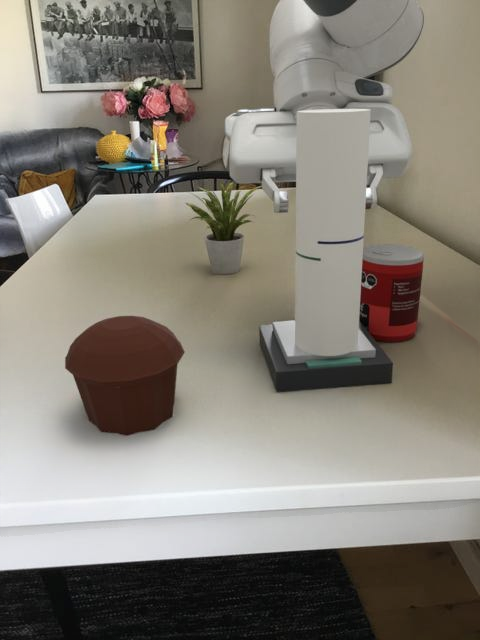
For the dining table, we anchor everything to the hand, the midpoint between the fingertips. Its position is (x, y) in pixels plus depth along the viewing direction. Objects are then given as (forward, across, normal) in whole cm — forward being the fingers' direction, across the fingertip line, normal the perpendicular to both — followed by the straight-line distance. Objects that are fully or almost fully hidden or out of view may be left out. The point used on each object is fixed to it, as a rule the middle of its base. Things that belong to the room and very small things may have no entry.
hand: (325, 208), depth 61 cm
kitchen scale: (+13, 0, +14) cm, 19 cm away
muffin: (+20, -21, +7) cm, 30 cm away
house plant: (-15, -10, +42) cm, 45 cm away
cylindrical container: (+12, 0, +10) cm, 15 cm away
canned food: (+7, +10, +19) cm, 23 cm away
